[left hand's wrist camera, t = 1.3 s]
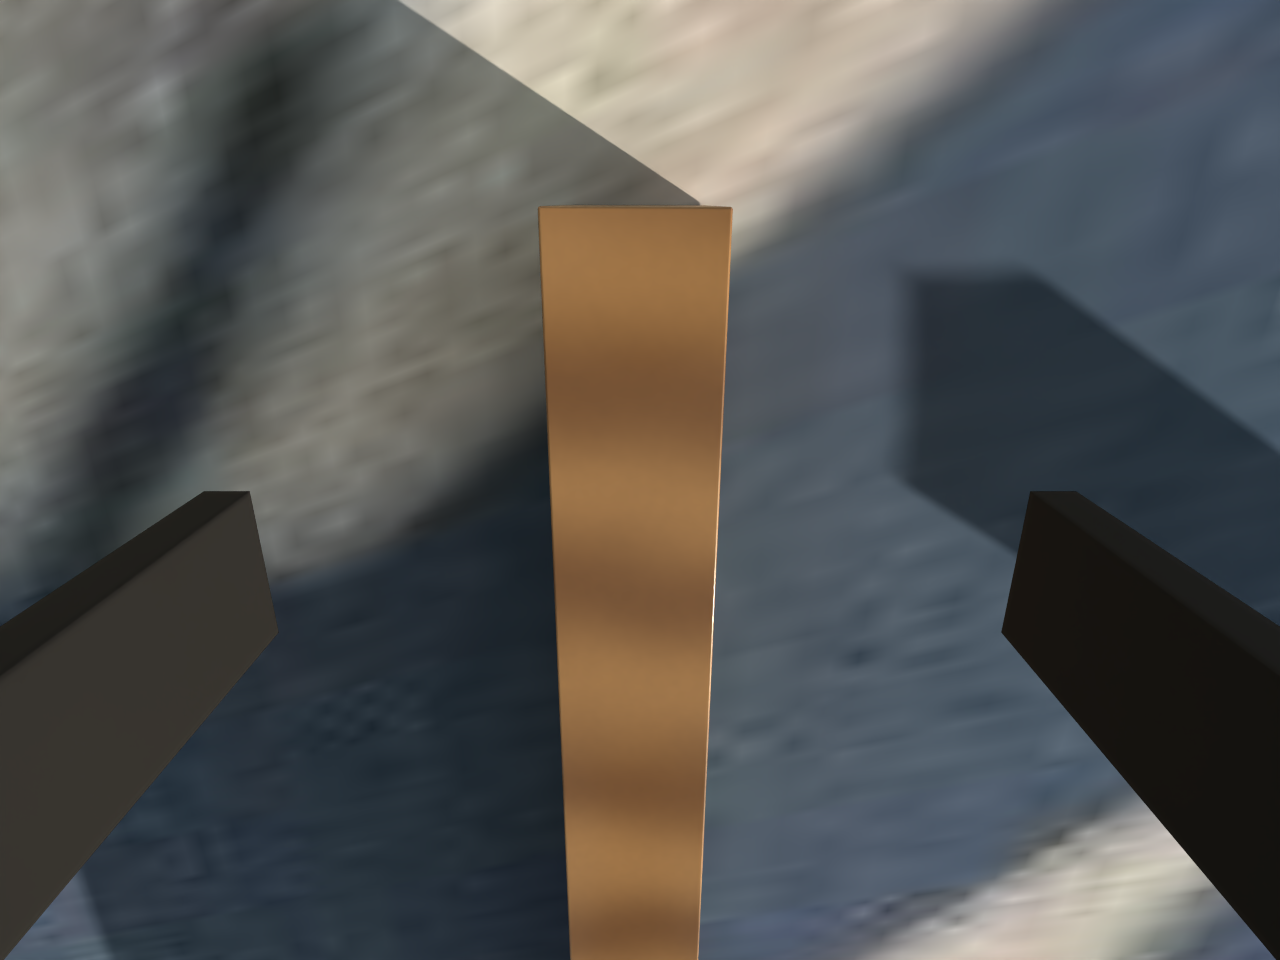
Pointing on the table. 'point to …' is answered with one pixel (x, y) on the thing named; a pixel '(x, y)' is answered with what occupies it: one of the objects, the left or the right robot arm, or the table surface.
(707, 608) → the beam
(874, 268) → the table surface
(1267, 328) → the table surface
